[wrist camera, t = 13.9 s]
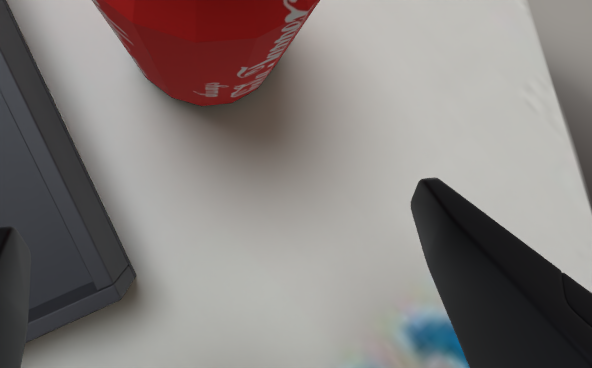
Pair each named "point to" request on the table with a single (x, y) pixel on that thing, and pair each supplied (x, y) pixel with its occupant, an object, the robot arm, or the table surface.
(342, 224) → the table surface
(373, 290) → the table surface
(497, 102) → the table surface
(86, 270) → the dark grey tray
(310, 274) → the table surface
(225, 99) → the soda can
